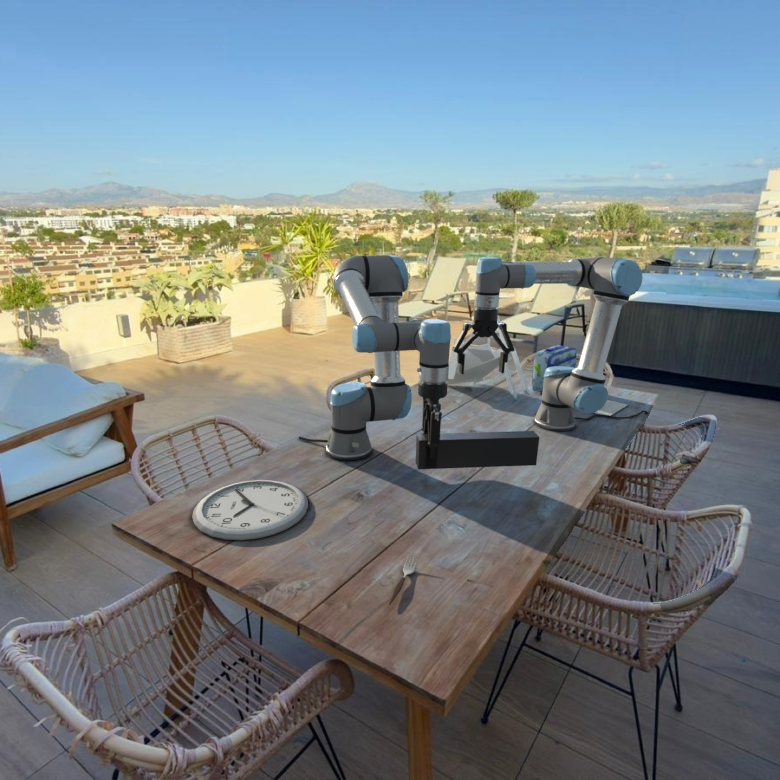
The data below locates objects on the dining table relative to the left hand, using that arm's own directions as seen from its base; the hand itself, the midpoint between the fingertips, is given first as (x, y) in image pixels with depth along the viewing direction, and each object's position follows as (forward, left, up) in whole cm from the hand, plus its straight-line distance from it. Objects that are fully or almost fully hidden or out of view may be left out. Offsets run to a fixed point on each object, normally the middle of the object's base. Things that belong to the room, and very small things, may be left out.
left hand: (429, 463), depth 141 cm
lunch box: (+2, +127, -12) cm, 127 cm away
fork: (+11, -34, -12) cm, 37 cm away
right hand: (-2, +41, +16) cm, 44 cm away
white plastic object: (-26, +104, -12) cm, 108 cm away
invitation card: (+26, +114, -12) cm, 118 cm away
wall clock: (-38, -28, -12) cm, 49 cm away
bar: (+10, +8, -1) cm, 13 cm away
